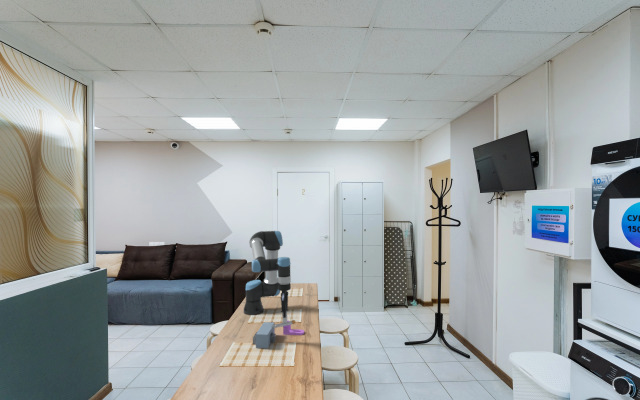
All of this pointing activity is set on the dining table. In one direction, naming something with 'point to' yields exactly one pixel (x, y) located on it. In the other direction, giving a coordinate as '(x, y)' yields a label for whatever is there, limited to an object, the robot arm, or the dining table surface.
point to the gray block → (272, 338)
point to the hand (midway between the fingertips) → (285, 322)
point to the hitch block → (264, 335)
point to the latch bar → (283, 324)
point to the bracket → (291, 331)
